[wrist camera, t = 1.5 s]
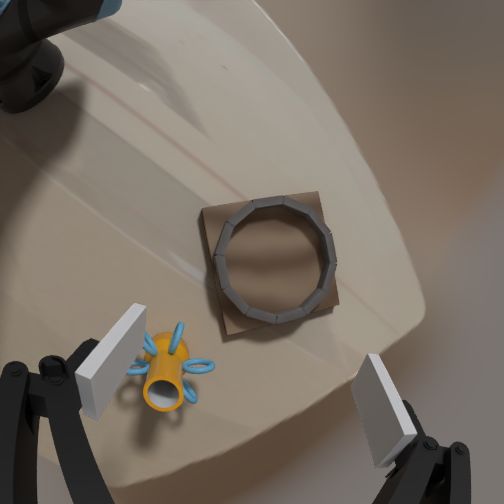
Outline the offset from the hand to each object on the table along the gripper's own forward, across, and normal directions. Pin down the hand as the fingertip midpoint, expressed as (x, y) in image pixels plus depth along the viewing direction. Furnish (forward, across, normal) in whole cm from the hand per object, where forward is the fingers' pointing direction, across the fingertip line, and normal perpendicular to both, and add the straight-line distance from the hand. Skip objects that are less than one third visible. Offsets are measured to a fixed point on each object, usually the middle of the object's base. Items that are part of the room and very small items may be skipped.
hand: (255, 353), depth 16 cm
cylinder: (+20, -10, -18) cm, 28 cm away
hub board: (+28, +2, -3) cm, 29 cm away
